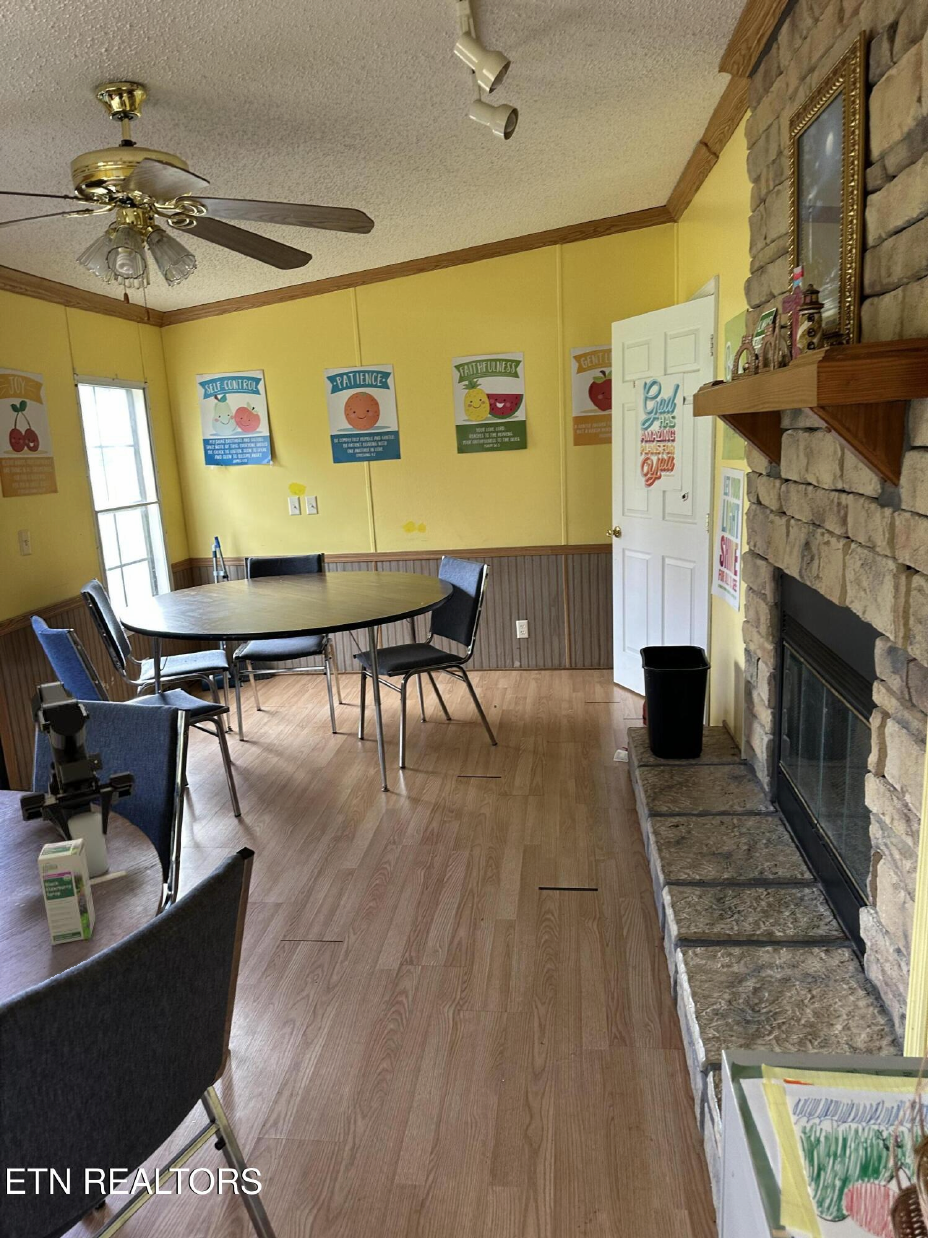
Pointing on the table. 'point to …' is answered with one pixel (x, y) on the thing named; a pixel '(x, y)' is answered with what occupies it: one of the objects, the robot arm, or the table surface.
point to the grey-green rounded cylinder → (90, 840)
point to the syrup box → (66, 891)
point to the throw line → (107, 877)
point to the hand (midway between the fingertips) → (88, 839)
